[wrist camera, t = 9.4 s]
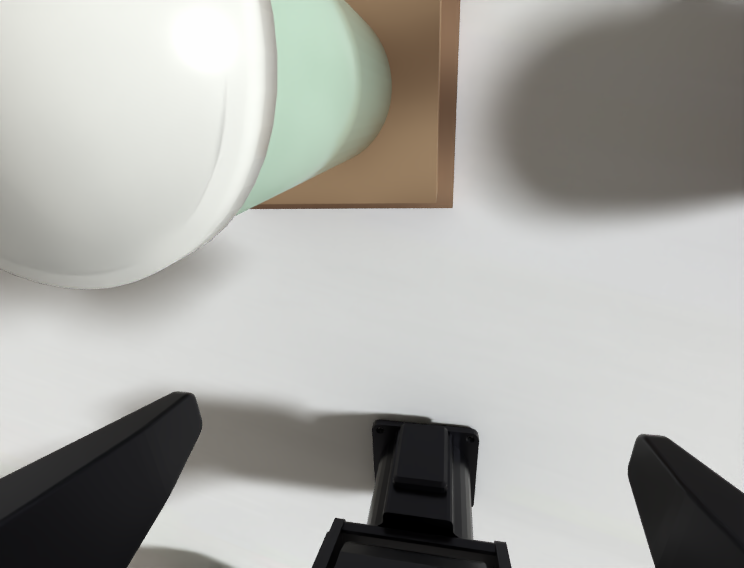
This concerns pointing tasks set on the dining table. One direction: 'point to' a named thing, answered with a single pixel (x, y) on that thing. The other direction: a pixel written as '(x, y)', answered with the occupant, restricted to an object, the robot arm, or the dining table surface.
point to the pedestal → (400, 117)
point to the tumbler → (168, 123)
